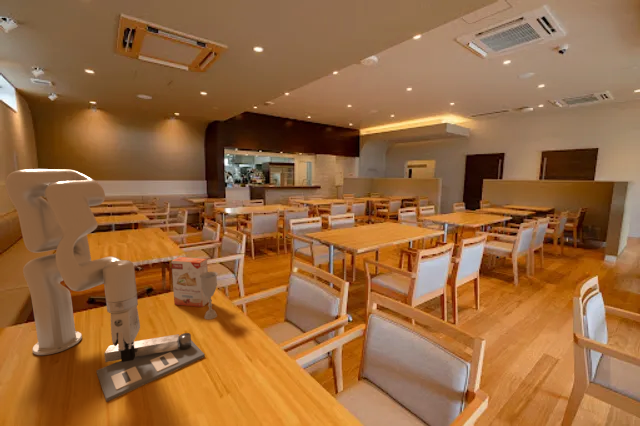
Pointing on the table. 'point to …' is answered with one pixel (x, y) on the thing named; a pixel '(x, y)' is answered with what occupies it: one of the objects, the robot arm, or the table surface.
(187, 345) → the swing bar
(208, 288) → the chalice
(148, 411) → the table surface
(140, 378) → the label board
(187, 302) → the cracker box
